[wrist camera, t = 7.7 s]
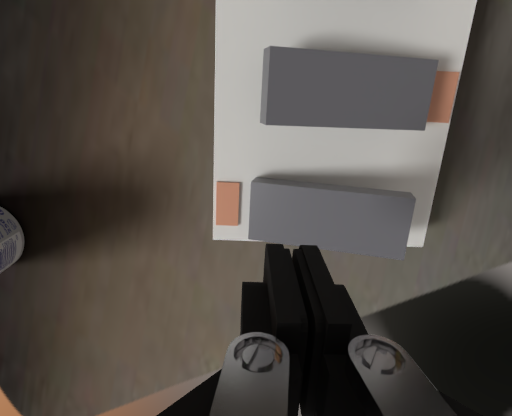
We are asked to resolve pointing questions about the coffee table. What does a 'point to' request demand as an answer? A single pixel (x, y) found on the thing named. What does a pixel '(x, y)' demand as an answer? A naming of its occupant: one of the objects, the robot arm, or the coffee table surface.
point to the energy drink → (9, 240)
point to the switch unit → (329, 138)
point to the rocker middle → (345, 89)
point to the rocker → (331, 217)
